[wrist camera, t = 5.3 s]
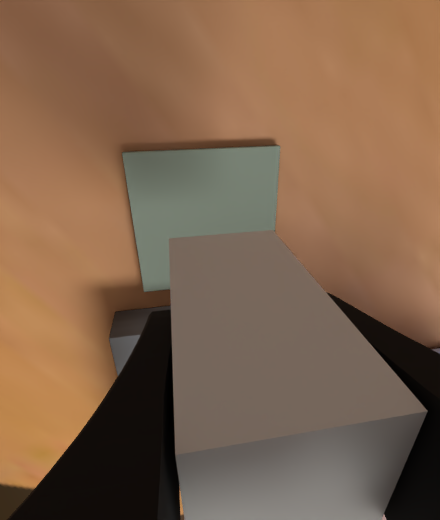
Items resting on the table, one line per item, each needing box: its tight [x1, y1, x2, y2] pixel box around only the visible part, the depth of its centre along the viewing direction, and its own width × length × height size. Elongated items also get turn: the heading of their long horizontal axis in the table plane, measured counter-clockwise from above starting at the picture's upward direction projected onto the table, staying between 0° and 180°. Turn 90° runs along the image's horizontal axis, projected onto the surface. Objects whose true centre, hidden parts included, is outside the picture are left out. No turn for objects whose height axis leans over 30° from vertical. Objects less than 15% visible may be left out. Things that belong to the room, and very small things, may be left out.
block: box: [169, 230, 428, 520], centre depth 9 cm, size 4×4×8 cm
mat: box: [122, 145, 280, 292], centre depth 17 cm, size 8×8×1 cm
